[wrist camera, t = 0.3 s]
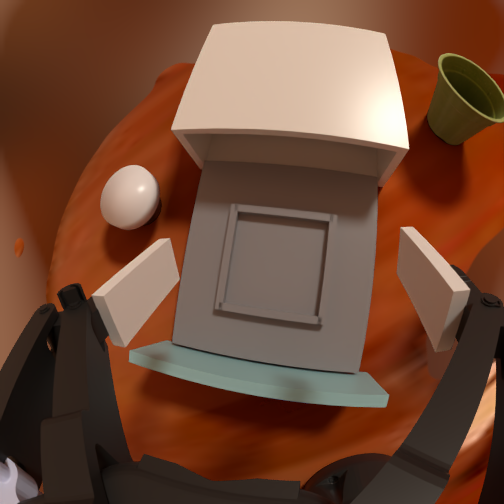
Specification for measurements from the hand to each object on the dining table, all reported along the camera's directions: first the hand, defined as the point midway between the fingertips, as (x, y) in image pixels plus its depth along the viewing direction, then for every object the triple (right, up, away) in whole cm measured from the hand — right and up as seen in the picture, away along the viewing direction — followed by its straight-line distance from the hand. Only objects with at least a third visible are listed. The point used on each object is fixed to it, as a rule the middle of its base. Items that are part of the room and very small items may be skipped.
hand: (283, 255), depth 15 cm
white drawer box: (+5, +20, +20) cm, 29 cm away
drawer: (+1, -2, +17) cm, 17 cm away
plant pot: (+29, +20, +17) cm, 38 cm away
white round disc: (-17, +7, +18) cm, 26 cm away
